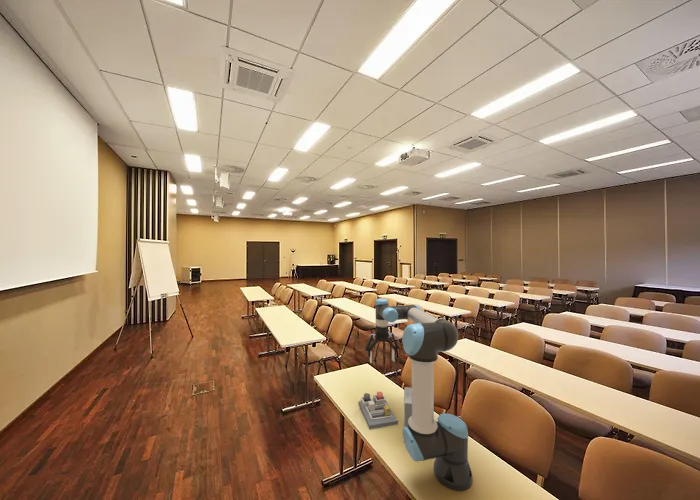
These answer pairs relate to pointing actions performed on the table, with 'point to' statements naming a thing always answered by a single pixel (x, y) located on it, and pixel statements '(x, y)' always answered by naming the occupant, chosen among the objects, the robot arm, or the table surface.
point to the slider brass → (386, 410)
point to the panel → (377, 413)
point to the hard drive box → (407, 405)
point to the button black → (366, 397)
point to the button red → (379, 395)
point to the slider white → (371, 406)
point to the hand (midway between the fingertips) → (382, 361)
